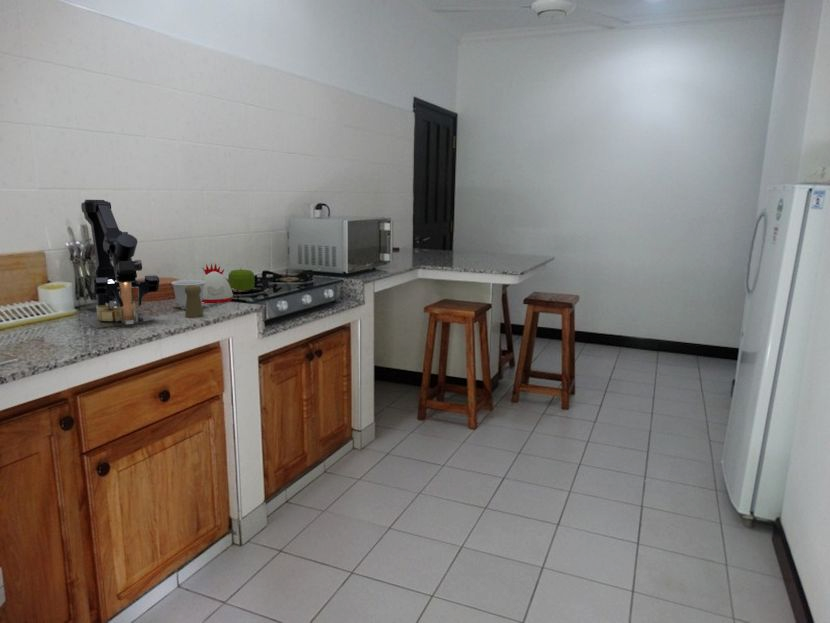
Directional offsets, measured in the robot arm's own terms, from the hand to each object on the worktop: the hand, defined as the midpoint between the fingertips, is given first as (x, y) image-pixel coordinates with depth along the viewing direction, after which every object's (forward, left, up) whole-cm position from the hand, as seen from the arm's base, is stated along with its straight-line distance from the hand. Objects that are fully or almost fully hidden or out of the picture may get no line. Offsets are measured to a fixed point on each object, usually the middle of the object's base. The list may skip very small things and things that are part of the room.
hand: (130, 305), depth 181 cm
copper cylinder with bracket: (-10, 0, -6) cm, 12 cm away
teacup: (-17, +27, -7) cm, 33 cm away
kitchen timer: (-28, +42, -7) cm, 52 cm away
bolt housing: (-14, 0, -7) cm, 16 cm away
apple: (-39, +60, -7) cm, 72 cm away
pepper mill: (-4, +22, -7) cm, 24 cm away
